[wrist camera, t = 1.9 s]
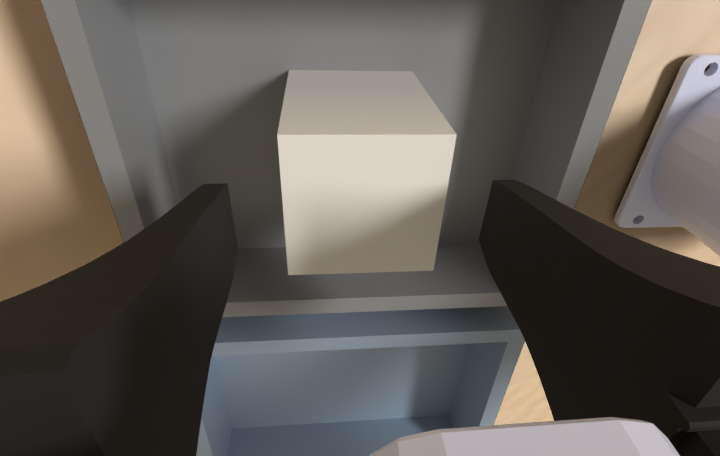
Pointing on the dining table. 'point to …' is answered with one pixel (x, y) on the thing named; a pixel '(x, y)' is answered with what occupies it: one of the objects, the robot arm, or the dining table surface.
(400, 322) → the slate blue bin
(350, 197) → the cream block
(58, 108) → the dining table surface
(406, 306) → the grey bin
